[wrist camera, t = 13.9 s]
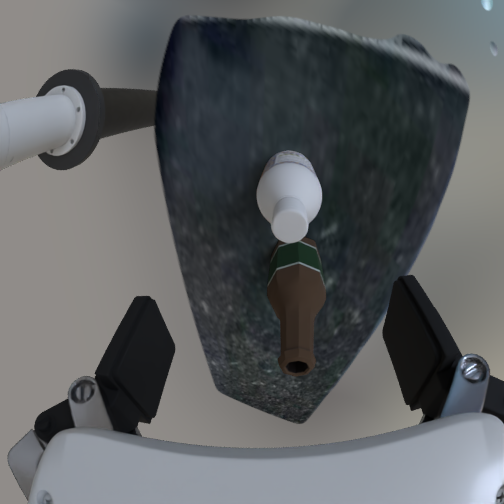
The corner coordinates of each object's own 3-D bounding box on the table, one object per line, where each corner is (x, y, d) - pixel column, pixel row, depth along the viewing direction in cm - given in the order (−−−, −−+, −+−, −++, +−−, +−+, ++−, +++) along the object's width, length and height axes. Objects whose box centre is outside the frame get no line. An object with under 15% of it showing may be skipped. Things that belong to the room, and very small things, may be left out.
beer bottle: (297, 217, 42) (303, 329, 21) (328, 250, 44) (351, 368, 23) (262, 247, 45) (239, 364, 25) (293, 276, 47) (291, 396, 27)
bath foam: (259, 154, 37) (233, 195, 20) (306, 144, 36) (325, 175, 18) (271, 198, 41) (258, 271, 23) (316, 189, 39) (339, 257, 22)
